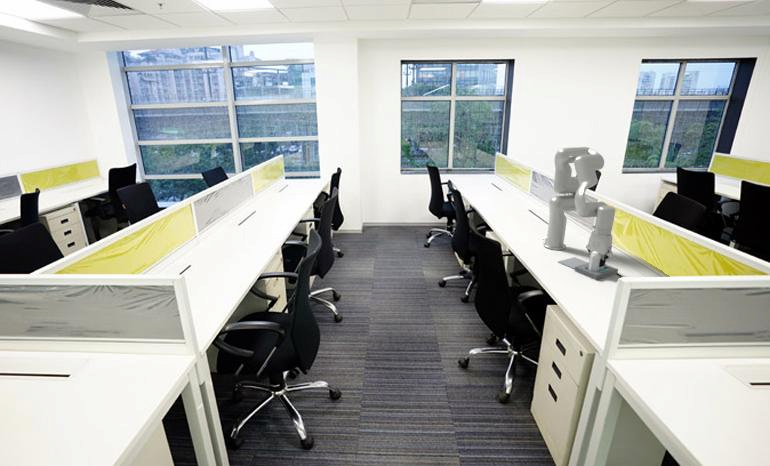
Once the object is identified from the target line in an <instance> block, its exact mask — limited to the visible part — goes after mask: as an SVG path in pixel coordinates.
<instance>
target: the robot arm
mask: <svg viewBox="0 0 770 466" xmlns="http://www.w3.org/2000/svg"><path fill="white" fill-rule="evenodd" d="M570 164H573V165H574V169H575V172H576V176H572V174H573V169H572V167H571V165H570ZM554 166H555V167H554V168H555V172H554V183H553V190H554V192H555V194H559V195H555V196H553V197H551V198H550V199H549V202H548V206H549V207H548V208H549V219H548V225H547V226H548V227H547V235H544V236H543V237H542V238H541V239H542V240H543V241H544V242H543V245H542V246H543V247H544V248H546V249H549V250H554V251H562V250H565V249H566V248H567V245H566V244H565V237H566V229H567V228H566V227H567V219H568V218H567V216H566V214H565V212H577V214H578V216H579V217H581V218H583V219H584V218H595V223H594V225H593V226H592V229H593V230H592V231H591V233H590V236H589V239H588V242H587V244H586V245H585V248H586V250H587V252H588V254H589V256H590V255H591V253H592V252H594V251H596V252H598V253H599V254H601V258H602V259H601V260H600V264H599V267H602V266H604V265H605V264H606V262H607V260H608V259H609V258H612V257H613V258H614V256H615V255H614V253H613V251H612V248H613V234H612V232H613V226H614V221H615V220H614V219H615V215H616V208H615V207H614V206H611V205H608V204H607V203H606V202H604V201H591V202H586V198H585V197H586V196H585V193H586V191H587V190H588V189H590V188H593V187H594V186H596V185H597V184H598V181H599V179H598V177H597V173H596V171H599V170H602V169H603V168H604V167H605V159H604V156H603V155H602V154H600V153H599V152H598V151H595V150H594V149H592V148H590V147H588V146H587V147H586V146H578V147H575V146H574V147H564V148H561V149H558V150H557V152H556V153H555V155H554ZM560 194H561V195H560ZM562 194H563V195H562ZM565 194H566V195H565Z"/></svg>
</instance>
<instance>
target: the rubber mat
mask: <svg viewBox="0 0 770 466" xmlns="http://www.w3.org/2000/svg"><path fill="white" fill-rule="evenodd" d="M557 263H558V264H561V265H563V266H565V267H568V268H570V269H573V270H575V267H576V266H580V265H583V264H587V263H589V261H585V260H584V259H580V258H578V257H575V256H574V257H570V258H565V259H562V260H560V261H557Z"/></svg>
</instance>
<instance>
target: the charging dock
mask: <svg viewBox="0 0 770 466" xmlns="http://www.w3.org/2000/svg"><path fill="white" fill-rule="evenodd" d="M588 265H589V262H588V263H587V264H583V265H580V266H576V267H575V269H574V272H576V273H579V274H580V275H583V276H585V277H588V278H590V279H592V280H593V281H597V280H600V279H605V278H607V277H611V276H615V275H616V274H618V273H619V268H616V267H613V266H611V265H608V264H606V263H605V266H604V269H603V270H600V271H596V272H592V271H590V270H588Z"/></svg>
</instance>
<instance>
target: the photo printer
mask: <svg viewBox="0 0 770 466" xmlns="http://www.w3.org/2000/svg"><path fill="white" fill-rule="evenodd" d="M601 259H602V258H601V254H599V253H598V252H596V251H594V252H592V253H591V255H589V261H588V263H589V265H588V270H590V271H592V272H596V271H600V270H603V269H604V266H605V265H604V266H602V267H599V264H600V260H601Z"/></svg>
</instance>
